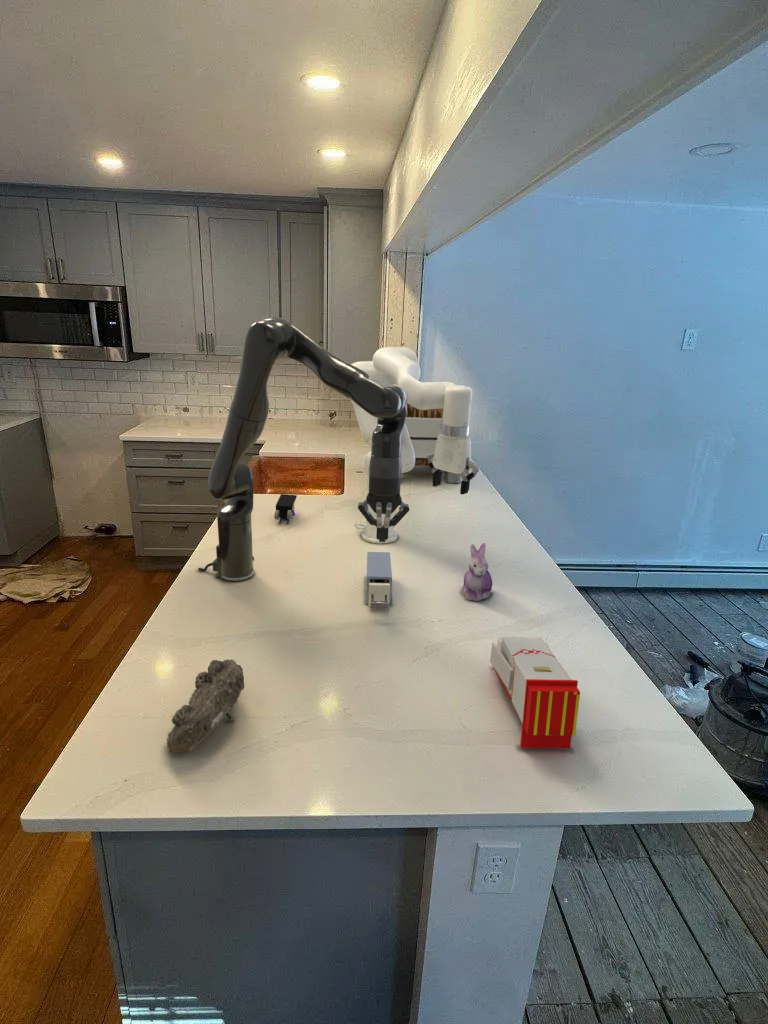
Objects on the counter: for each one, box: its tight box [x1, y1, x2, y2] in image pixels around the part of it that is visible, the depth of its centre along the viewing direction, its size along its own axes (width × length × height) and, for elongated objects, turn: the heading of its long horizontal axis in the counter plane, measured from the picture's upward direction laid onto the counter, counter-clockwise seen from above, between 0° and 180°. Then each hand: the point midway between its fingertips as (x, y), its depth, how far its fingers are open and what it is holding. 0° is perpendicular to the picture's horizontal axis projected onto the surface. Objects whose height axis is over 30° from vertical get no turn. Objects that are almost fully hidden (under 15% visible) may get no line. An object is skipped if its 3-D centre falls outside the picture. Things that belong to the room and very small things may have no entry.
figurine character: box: [274, 493, 298, 525], centre depth 208 cm, size 7×8×15 cm
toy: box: [489, 636, 581, 749], centre depth 115 cm, size 12×13×30 cm
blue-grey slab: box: [365, 551, 393, 606], centre depth 158 cm, size 16×7×8 cm, turn 1°
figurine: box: [462, 542, 493, 602], centre depth 157 cm, size 9×10×15 cm
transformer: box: [401, 403, 461, 484], centre depth 268 cm, size 34×33×41 cm
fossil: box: [166, 658, 245, 754], centre depth 106 cm, size 22×10×15 cm
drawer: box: [367, 579, 390, 609], centre depth 152 cm, size 21×5×6 cm, turn 1°
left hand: (382, 540), depth 139 cm, fingers closed
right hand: (450, 489), depth 164 cm, fingers open, 9 cm apart
